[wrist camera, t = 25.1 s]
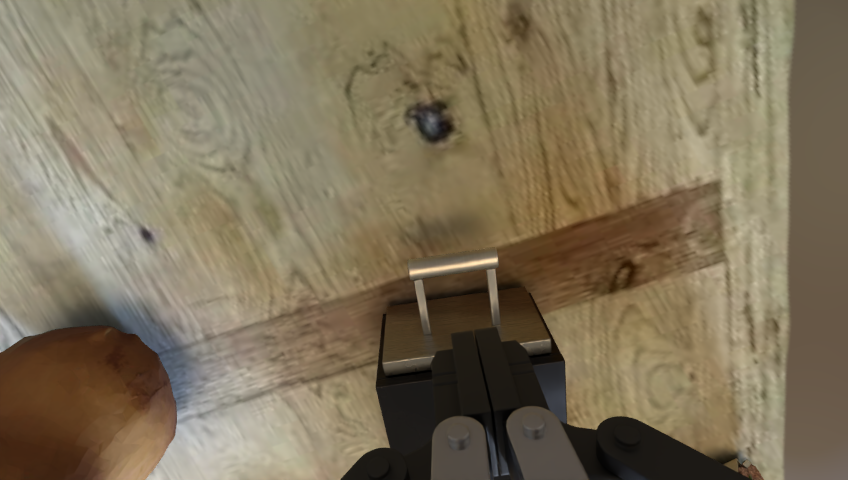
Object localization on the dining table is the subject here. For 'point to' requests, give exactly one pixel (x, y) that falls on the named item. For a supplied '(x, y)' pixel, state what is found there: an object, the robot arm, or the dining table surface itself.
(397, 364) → the wooden drawer
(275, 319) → the dining table surface
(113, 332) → the butternut squash
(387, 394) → the black rectangular box
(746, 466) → the taco
